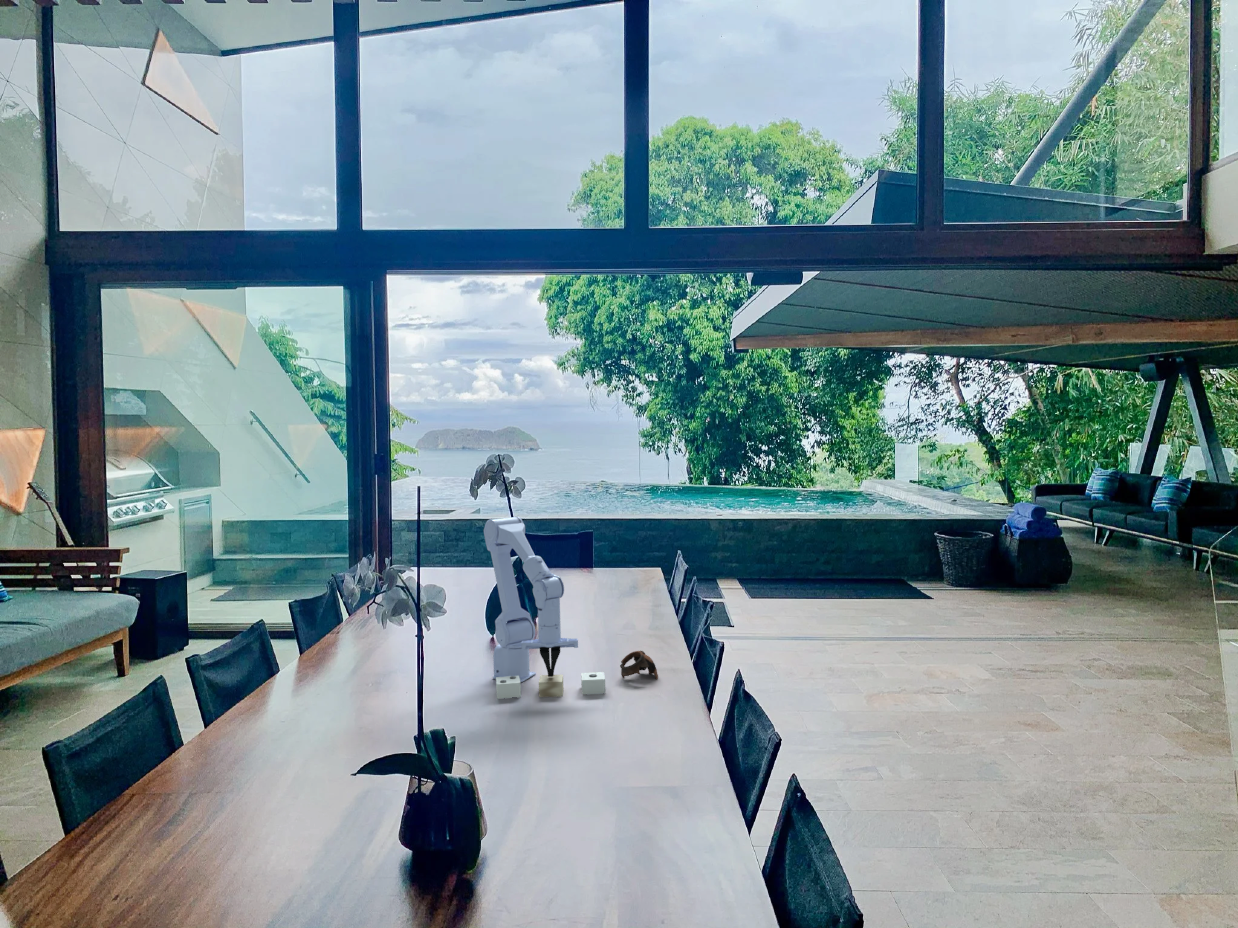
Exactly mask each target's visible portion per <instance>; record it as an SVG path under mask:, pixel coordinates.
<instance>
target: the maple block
mask: <svg viewBox="0 0 1238 928" xmlns="http://www.w3.org/2000/svg"><path fill="white" fill-rule="evenodd" d="M564 689H565V688H564V674H554V676H553V677H548V674H542V675H541V674H540V675H539V679H538V697H539V698H547V697H548V698H549V697H552V698H555V697H557V698H558V697H563V695H564Z"/></svg>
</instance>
